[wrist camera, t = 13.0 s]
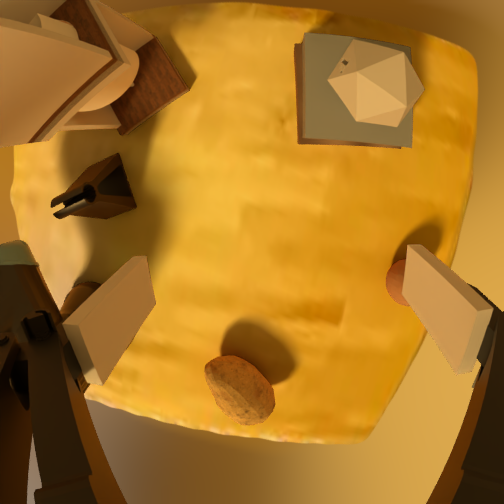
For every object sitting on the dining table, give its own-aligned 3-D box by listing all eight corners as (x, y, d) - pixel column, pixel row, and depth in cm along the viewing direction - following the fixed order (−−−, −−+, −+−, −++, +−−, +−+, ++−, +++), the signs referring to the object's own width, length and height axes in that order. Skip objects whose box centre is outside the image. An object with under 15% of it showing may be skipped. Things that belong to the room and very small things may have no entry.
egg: (387, 248, 43) (406, 270, 36) (422, 256, 43) (445, 278, 36) (374, 286, 46) (389, 313, 38) (409, 292, 46) (427, 319, 38)
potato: (229, 399, 57) (221, 436, 48) (205, 344, 53) (191, 381, 44) (279, 394, 55) (277, 432, 47) (261, 336, 51) (256, 374, 42)
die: (380, 44, 26) (341, 13, 20) (443, 88, 24) (425, 62, 17) (344, 98, 32) (297, 84, 25) (401, 145, 29) (369, 140, 22)
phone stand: (137, 207, 45) (95, 230, 34) (107, 218, 46) (63, 242, 35) (119, 152, 42) (72, 160, 31) (90, 166, 44) (41, 178, 32)
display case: (126, 134, 41) (-97, 171, 9) (98, 82, 39) (-106, 68, 6) (189, 90, 38) (-26, 21, 6) (156, 37, 36) (-32, -58, 3)
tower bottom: (297, 143, 40) (299, 144, 36) (293, 53, 36) (294, 43, 31) (389, 147, 39) (401, 148, 34) (385, 59, 34) (396, 51, 30)
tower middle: (302, 138, 35) (305, 137, 31) (302, 45, 31) (304, 32, 26) (396, 146, 34) (411, 147, 30) (396, 56, 30) (410, 46, 25)
